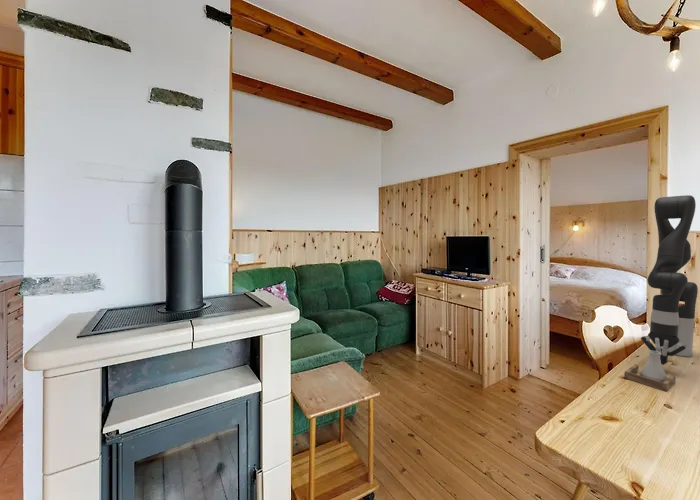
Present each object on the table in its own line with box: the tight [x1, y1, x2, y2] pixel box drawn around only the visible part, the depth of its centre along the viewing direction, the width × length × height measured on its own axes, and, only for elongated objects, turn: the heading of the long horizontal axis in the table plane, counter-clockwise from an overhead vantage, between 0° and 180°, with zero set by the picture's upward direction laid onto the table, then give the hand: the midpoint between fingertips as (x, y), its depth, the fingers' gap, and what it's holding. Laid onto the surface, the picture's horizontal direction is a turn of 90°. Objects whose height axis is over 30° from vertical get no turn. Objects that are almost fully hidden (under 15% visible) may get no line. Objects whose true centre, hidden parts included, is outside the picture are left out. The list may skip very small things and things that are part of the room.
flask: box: [638, 349, 669, 382], centre depth 110 cm, size 7×7×10 cm
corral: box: [623, 363, 676, 392], centre depth 108 cm, size 12×11×2 cm
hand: (661, 363), depth 116 cm, fingers closed
